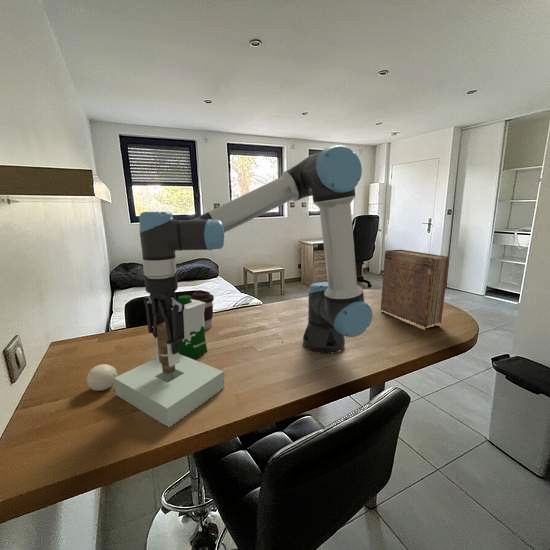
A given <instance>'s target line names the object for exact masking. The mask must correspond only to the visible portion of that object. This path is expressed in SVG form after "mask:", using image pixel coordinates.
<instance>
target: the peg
mask: <svg viewBox="0 0 550 550" xmlns="http://www.w3.org/2000/svg"><path fill="white" fill-rule="evenodd" d="M157 335H158V346H159V357H160V363H162V371H163V373H165V374H169V373H172V372H174V371H175V365H173V366H171V367H170V366H169V362H168V350H167V342H168V341H169V338H168V334H167V329H166V325H165V321H164V322H162V323H159V324H157Z"/></svg>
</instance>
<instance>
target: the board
mask: <svg viewBox="0 0 550 550" xmlns="http://www.w3.org/2000/svg"><path fill="white" fill-rule="evenodd" d="M224 375H225V373H224V371H223V370H221V369H218V368H216V367H213V366H211V365H208V364H205V363H203V362H201V361H199V360H195V359H191V358H188V357H186V356H183V355H181V354H179V363H177V364H175V371H174V372H172V373H169V374H165V373H163V371H162V363H160V361H157V357H156V358H153V359H150V360H149V361H146V362H145V363H143V364H141V365H138V366H137V367H133V368H132V369H130V370H128V371H125V372H124V373H122V374H119V375H118V376H117V377H115V378H114V383H113V384H114V388H115V389H114V390H115V395H116V396H117V397H119V398H121V399H122V400H124V401H125V402H127V403H128V404H130V405H132V406H133V407H135V408H136V409H138V410H140V411H141V412H142V413H145V414H146V415H147V416H150V417H151V418H152V419H154V420H156V421H157V420H158V421H157V422H158V423H161V424H162V425H164V426H165V425H166V426H165V427H167V426H168V427H167V428H169V427H170V426H171V427H172V426H174V425H175V424H177V423H178V422H180V421H181V420H182V419H183V418H185V417H186V416H188V415H190V413H192V412H193V411H194V410H196V409H197V408H198V406H199V405H200V406H201V405H203V404H204V403H206V402H207V401H208V400H210V399H211V398H212V397H214V396H216V395H217V394H218V393H219V392H221V391H222V390H223V389H225V378H224V377H225V376H224ZM221 389H222V390H221ZM220 390H221V391H220ZM217 392H218V393H217ZM213 395H214V396H213ZM209 398H210V399H209ZM202 403H203V404H202ZM200 406H199V407H200ZM195 408H196V409H195ZM191 411H192V412H191ZM187 414H188V415H187ZM184 416H185V417H184ZM180 419H181V420H180ZM176 422H177V423H176ZM173 424H174V425H173ZM171 427H170V428H171Z"/></svg>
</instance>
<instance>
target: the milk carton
mask: <svg viewBox="0 0 550 550" xmlns="http://www.w3.org/2000/svg"><path fill="white" fill-rule="evenodd" d="M191 296H192V295H189V294H182V295H178V297H177V302H179V303H184V305H185V307H184V311H183V316H184V337H185V338H184V339H183V340H181V341H179V354H181V355H183V356H186V357H188V358H191V359H193V360H195V359H196V358H198V357H199V356H202V355H203V354H206V353H207V352H208V347H207V343H206V332H205V331H206V330H205V327H204V310H205V304H206V303H205V302H201V301H198V300H193V299H191Z"/></svg>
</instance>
